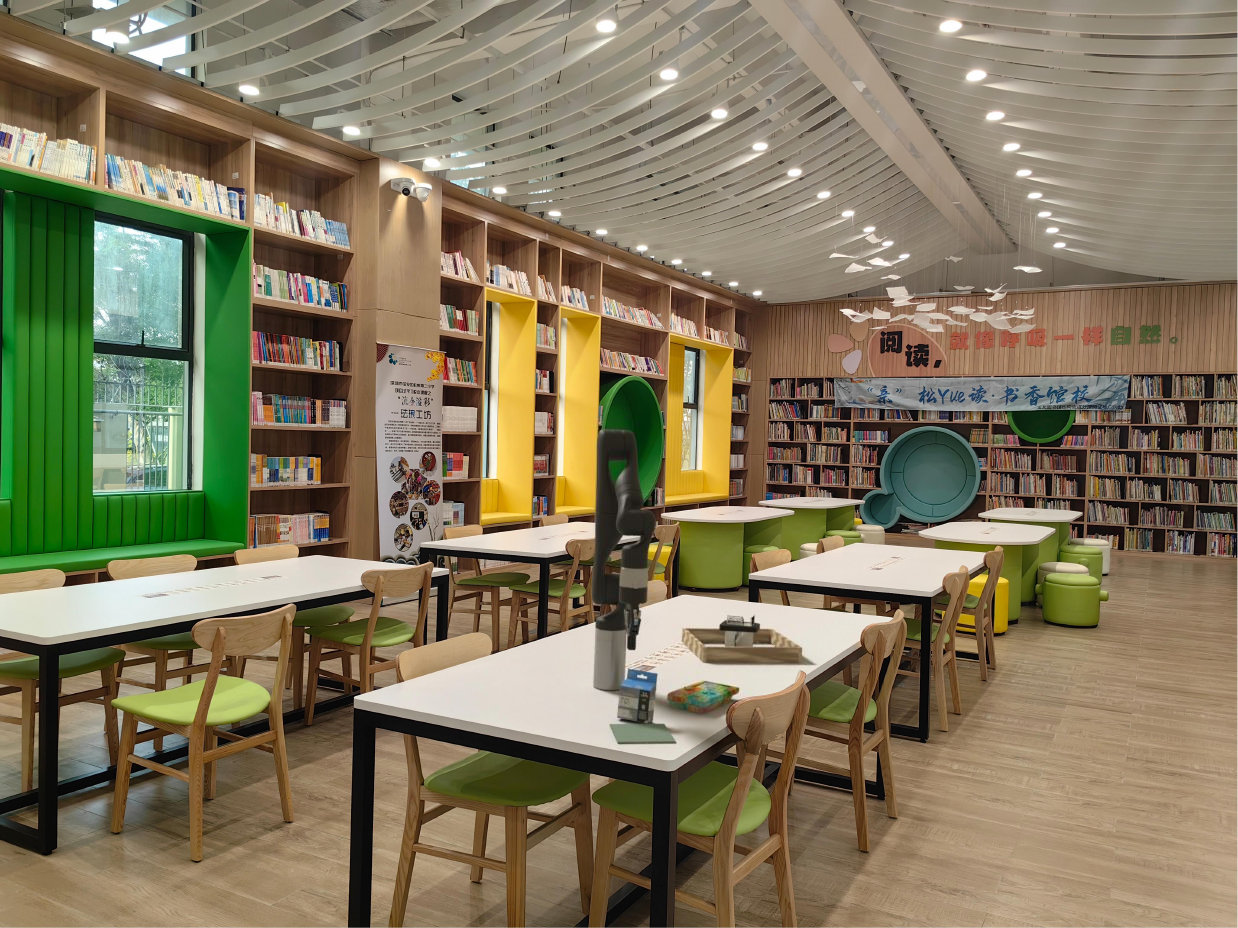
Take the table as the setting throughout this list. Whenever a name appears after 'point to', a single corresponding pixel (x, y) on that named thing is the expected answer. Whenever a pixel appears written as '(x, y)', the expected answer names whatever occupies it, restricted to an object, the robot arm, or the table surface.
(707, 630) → the holder frame
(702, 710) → the puzzle game
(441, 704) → the table surface
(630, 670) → the label tape cartridge
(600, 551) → the robot arm
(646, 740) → the mat
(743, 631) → the black-topped pedestal
